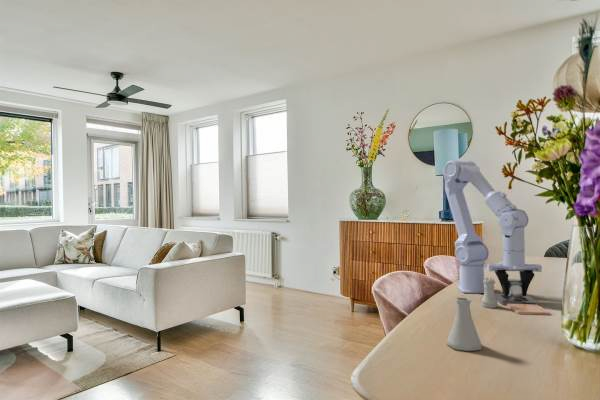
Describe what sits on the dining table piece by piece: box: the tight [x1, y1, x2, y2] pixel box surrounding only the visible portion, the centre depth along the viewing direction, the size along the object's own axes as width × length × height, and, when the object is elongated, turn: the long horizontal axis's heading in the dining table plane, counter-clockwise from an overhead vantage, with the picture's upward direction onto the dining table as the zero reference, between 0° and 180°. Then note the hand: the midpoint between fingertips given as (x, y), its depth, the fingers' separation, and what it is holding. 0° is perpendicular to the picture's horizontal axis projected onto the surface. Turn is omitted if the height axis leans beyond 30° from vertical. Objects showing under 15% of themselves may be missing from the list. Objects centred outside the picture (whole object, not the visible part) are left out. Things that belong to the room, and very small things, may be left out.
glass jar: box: [505, 278, 524, 301], centre depth 118 cm, size 5×5×6 cm
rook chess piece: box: [480, 277, 499, 309], centre depth 113 cm, size 4×4×8 cm
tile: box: [506, 304, 551, 316], centre depth 108 cm, size 8×8×1 cm
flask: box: [446, 296, 483, 352], centre depth 84 cm, size 7×7×10 cm
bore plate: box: [494, 293, 541, 306], centre depth 118 cm, size 10×10×1 cm
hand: (514, 295), depth 118 cm, fingers closed on glass jar, 4 cm apart
